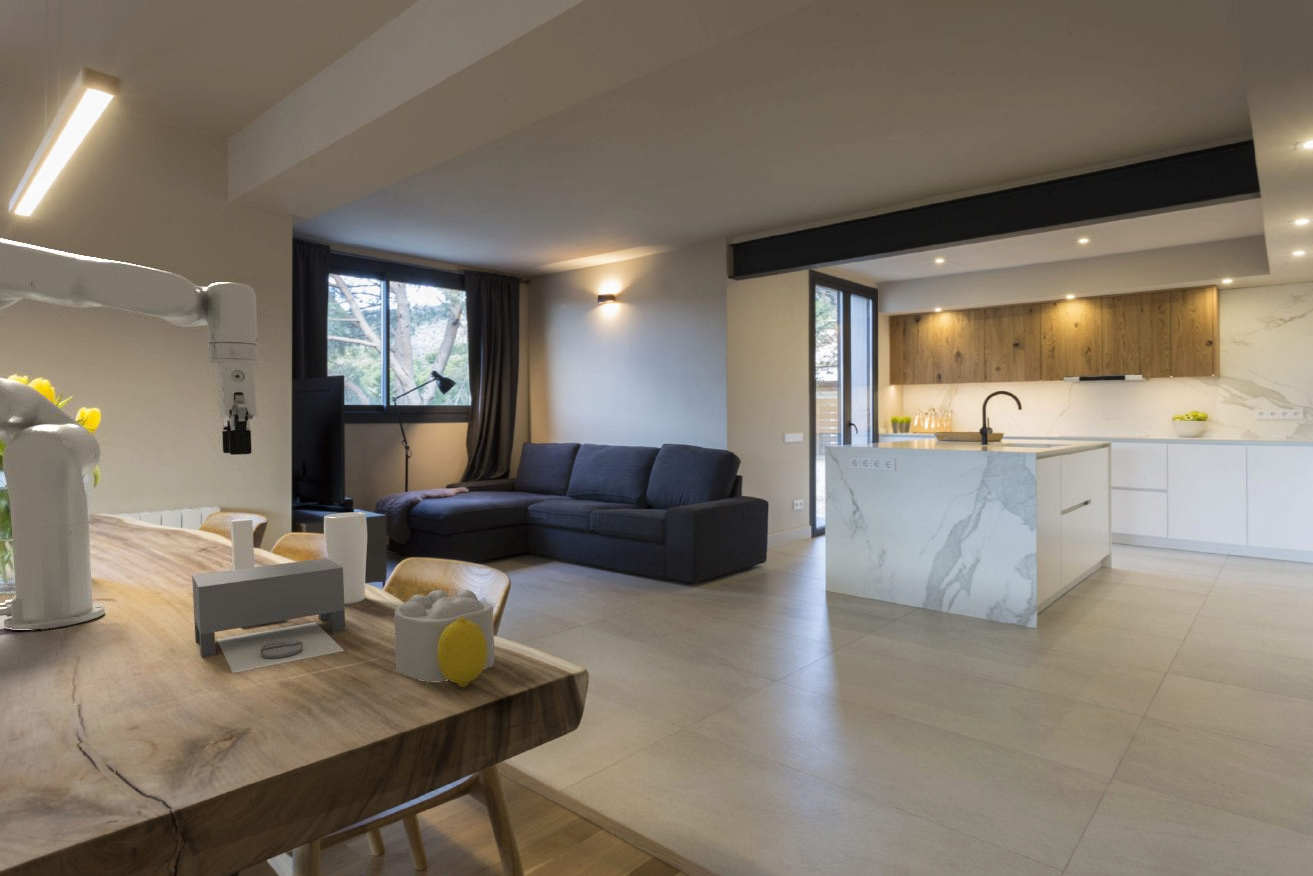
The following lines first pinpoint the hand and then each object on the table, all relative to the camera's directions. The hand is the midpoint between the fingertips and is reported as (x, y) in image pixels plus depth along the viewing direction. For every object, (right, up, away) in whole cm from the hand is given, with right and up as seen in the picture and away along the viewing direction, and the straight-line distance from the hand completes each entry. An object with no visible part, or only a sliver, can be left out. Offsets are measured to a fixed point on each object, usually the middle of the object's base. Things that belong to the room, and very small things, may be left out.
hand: (236, 453), depth 128 cm
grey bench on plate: (+17, -26, -22) cm, 38 cm away
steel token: (+23, -26, -30) cm, 46 cm away
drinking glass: (+20, -26, -2) cm, 33 cm away
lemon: (+51, -26, -44) cm, 72 cm away
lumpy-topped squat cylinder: (+46, -26, -35) cm, 64 cm away
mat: (+21, -26, -27) cm, 43 cm away
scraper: (+6, -26, -7) cm, 27 cm away
